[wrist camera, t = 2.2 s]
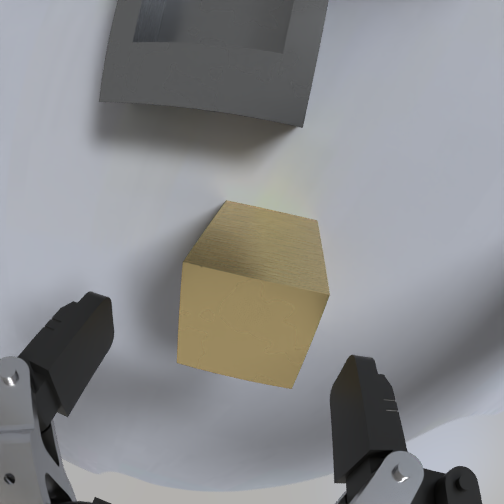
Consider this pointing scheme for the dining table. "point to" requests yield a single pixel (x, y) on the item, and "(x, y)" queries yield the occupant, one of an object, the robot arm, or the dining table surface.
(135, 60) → the steel rectangular frame
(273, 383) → the brass block
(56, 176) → the dining table surface
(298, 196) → the dining table surface
